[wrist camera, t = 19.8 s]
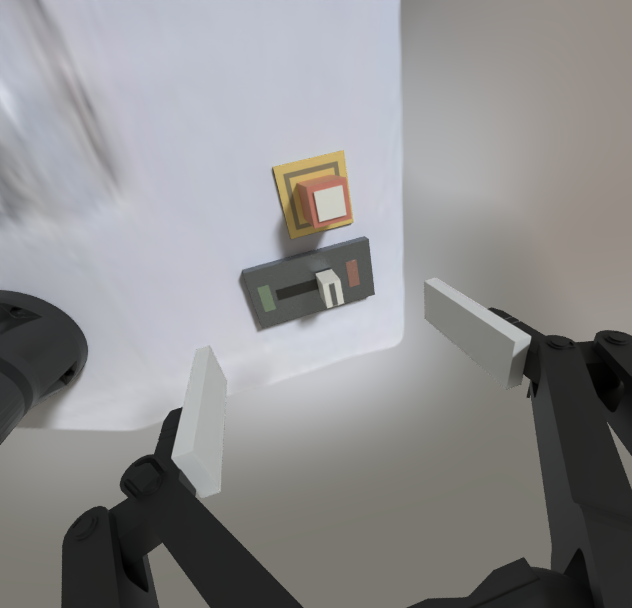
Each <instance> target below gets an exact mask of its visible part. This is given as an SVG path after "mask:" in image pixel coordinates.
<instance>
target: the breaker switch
mask: <svg viewBox="0 0 632 608" xmlns="http://www.w3.org/2000/svg"><path fill="white" fill-rule="evenodd" d="M316 279H317V283H318V288H319V293H320V296H321V298H322V300H323V302H324V303H325V305H326V307H327V308H330V307H333V306H337V305H340V304H343V303H344V299H343V293H342V288H341V282H340V279H339V278H338V276H337V275H336V274H335V273H334V271H333V270H332V269H330V270H327V271H323V272H320V273H316Z"/></svg>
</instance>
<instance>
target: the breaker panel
mask: <svg viewBox="0 0 632 608" xmlns="http://www.w3.org/2000/svg"><path fill="white" fill-rule="evenodd" d="M330 269H332V270H333V271H334V273H335V274H336V275H337V276H338V278H339V279H340V282H341V288H342V293H343V299H344V303H343V304H345V303H348V302H352V301H355V300H358V299H362V298H365V297H368V296H372V295H375V292H374V283H373V274H372V265H371V256H370V247H369V239H368V238H366V237H365V236H364V237H360V238H357V239H353V240H350V241H346V242H342V243H339V244H335V245H331V246H328V247H324V248H320V249H317V250H313V251H310V252H306V253H302V254H299V255H295V256H291V257H288V258H284V259H280V260H277V261H273V262H269V263H266V264H262V265H259V266H255V267H251V268H248V269H244V270H243V276H244V279H245V282H246V284H247V287H248V290H249V293H250V296H251V298H252V301H253V304H254V307H255V310H256V312H257V315H258V318H259V321H260V324H261V326H262V328H265V327H268V326H271V325H275V324H278V323H281V322H285V321H288V320H291V319H295V318H298V317H301V316H305V315H308V314H311V313H315V312H318V311H322V310H325V309H328V308H327V307H326V305H325V303H324V302H323V300H322V298H321V296H320V293H319V288H318V283H317V279H316V273H320V272H323V271H327V270H330ZM340 305H342V304H340ZM337 306H338V305H337ZM333 307H335V306H333ZM330 308H332V307H330Z"/></svg>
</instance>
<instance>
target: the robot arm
mask: <svg viewBox="0 0 632 608" xmlns="http://www.w3.org/2000/svg"><path fill="white" fill-rule="evenodd" d="M424 295H425V296H424V299H425V319H426V320H427V321H428V322H429V323H431V324H432V325H433V326H434V327H435V328H436V329H437V330H439V331H440V332H441V333H442V334H443V335H444V336H446V337H447V338H448V339H449V340H450V341H451V342H452V343H453V344H455V345H456V346H457V347H458V348H459V349H461V350H462V351H463V352H464V353H465V354H466V355H467V356H469V357H470V358H471V359H472V360H473V361H474V362H475V363H476V364H478V365H479V366H480V367H481V368H482V369H483V370H485V371H486V372H487V373H488V374H489V375H490V376H491V377H492V378H494V379H495V380H496V381H497V382H498V383H499V384H500V385H502V386H503V387H504V388H505V389H509V388H512V387H515V386H518V385H521V382H522V378H523V374H524V375H525V376H526V377H528V378H529V379H530V385H529V389H528V393H527V398H530V395H531V401H532V408H533V415H534V422H535V429H536V436H537V443H538V450H539V457H540V464H541V471H542V478H543V485H544V492H545V500H546V506H547V514H548V521H549V528H550V535H551V542H552V553H551V570H549V569H544V568H539V567H530V565H529V564H528V563H527V561H526V560H525V558H521V559H519V560H516V561H514V562H512V563H509V564H507V565H505V566H502V567H500V568H498V569H496V570H493V571H492V573H491V574H490V575H489V576H488V577H487V578H486V579H485V580H484V581H483V582H482V583H481V584H480V585H479V586H478V587H477V588H476V589H475V590H474V591H473V592H472V593H471V595H469V596H468V597H463V598H436V599H435V598H434V599H426V600H424V601H421V602H419V603H417V604H414V605H412V606H410V607H407V608H632V489H631V487H630V484H629V481H628V478H627V476H626V473H625V470H624V468H623V465H622V462H621V459H620V456H619V454H618V451H617V448H616V446H615V443H614V440H613V437H612V435H611V432H610V429H609V426H608V424H609V425H610V426H611V428H612V429H613V430H614V432H615V433H616V435H617V436H618V438H619V439H620V440H621V442H622V443H623V445H624V446H625V447H626V449H627V450H628V451H629V453H630V454H631V456H632V336H631V335H629V334H626V333H623V332H619V331H611V330H605V331H600V332H598V333H596V336H595V339H594V341H588V342H574V341H573V340H571V339H569V338H566V337H563V336H557V335H548V336H545V335H543V334H541V333H540V332H538V331H536V330H535V329H533V328H531V327H530V326H528V325H526V324H524V323H523V322H521V321H520V322H519V320H518V319H516V318H514V317H512V316H511V315H509V314H507V313H506V312H504V311H501V310H498V309H495V308H489V309H486V308H484V307H483V306H481V305H479V304H478V303H476V302H474V301H473V300H471V299H470V298H468V297H467V296H465V295H463V294H462V293H460V292H458V291H457V290H455V289H453V288H452V287H450V286H449V285H447V284H445V283H444V282H442V281H440V280H439V279H437V278H433V279H429V280H426V281H424ZM87 354H88V347H87V342H86V339H85V336H84V334H83V332H82V331H81V329H80V328H79V326H78V325H77V324H76V323H75V322H74V320H73V319H71V318H70V317H69V316H68V315H67V314H66V313H64V312H63V311H62V310H60V309H59V308H57V307H56V306H54V305H52V304H50V303H48V302H46V301H44V300H42V299H39V298H37V297H34V296H31V295H27V294H23V293H19V292H13V291H5V290H0V445H1V443H2V442H3V441H4V440H5V439H6V437H7V436H8V435H9V434H10V432H11V431H12V430H13V429H14V427H15V426H16V425H17V424H18V422H19V421H20V420H21V419H22V417H23V416H24V415H25V414H26V413H27V412H28V410H30V409H31V408H33V407H34V406H36V405H38V404H39V403H41V402H42V401H44V400H46V399H47V398H49V397H50V396H52V395H54V394H55V393H57V392H58V391H60V390H62V389H63V388H65V387H66V386H67V385H68V384H69V383H70V382H71V381H73V379H74V378H75V377H76V376H77V374H78V373H79V372H80V370H81V369H82V368H83V366H84V364H85V362H86V359H87ZM226 389H227V380H226V378H225V376H224V374H223V372H222V370H221V367H220V365H219V363H218V361H217V359H216V357H215V355H214V353H213V351H212V349H211V347H210V345H209V346H206V347H203V348H199V349H196V352H195V356H194V361H193V365H192V369H191V374H190V378H189V382H188V387H187V391H186V395H185V400H184V404H183V407H181V408H178V409H175V410H172V411H170V413H169V414H168V416H167V417H166V419H165V420H164V422H163V425H162V429H161V433H160V436H159V439H158V440H159V442H158V443H157V446H156V450H155V453H154V454H152V455H146V456H144V457H141V458H139V459H138V460H136V461H135V462H134V463H132V464H131V465H130V467H129V468H128V469H127V470H126V471H125V473H124V474H123V476H122V478H121V481H120V488H121V491H122V492H123V493H124V494H125V495H127V497H128V498H127V499H126V500H124V501H123V502H121V503H119V504H118V505H116V506H115V507H113V508H112V509H110V510H108V509H107V508H106V507H102V506H98V507H93V508H92V509H90V510H88V511H86V512H85V513H83V514H82V515H81V516H80V517H79V518H77V520H76V521H75V522H74V523H73V524H72V525H71V527H70V528H69V529H68V531H67V533H66V535H65V537H64V540H63V545H62V605H61V606H62V607H61V608H159V605H158V600H157V596H156V591H155V587H154V582H153V578H152V573H151V569H150V564H149V560H148V555H147V553H149V552H150V551H151V550H153V549H154V548H155V547H157V546H158V545H160V544H161V543H162V542H163V544H164V545H165V546H166V548H167V549H168V550H169V552H170V553H171V554H172V556H173V557H174V559H175V560H176V561H177V563H178V564H179V566H180V567H181V568H182V569H183V571H184V572H185V574H186V575H187V576H188V578H189V579H190V580H191V582H192V583H193V585H194V586H195V587H196V589H197V590H198V591H199V593H200V594H201V596H202V597H203V598H204V600H205V601H206V602H207V604H208V605H209V607H210V608H303V607H302V606H301V605H300V604H299V603H298V602H297V600H295V599H294V597H293V596H292V595H290V593H289V592H288V591H287V590H286V589H285V588H284V587H283V586H282V585H281V584H280V583H279V582H278V581H277V580H276V579H275V578H274V577H273V576H272V575H271V574H270V573H269V572H268V571H267V570H266V569H265V568H264V567H263V566H262V565H261V564H260V563H259V562H258V561H257V560H256V559H255V558H254V556H252V554H250V552H249V551H247V549H246V548H245V547H244V546H243V545H242V544H241V543H240V542H239V541H238V540H237V539H236V538H235V537H234V536H233V535H232V534H231V533H230V532H229V531H228V530H227V529H226V528H225V527H224V526H223V525H222V524H221V523H220V522H219V521H218V520H217V519H216V518H215V517H214V516H213V515H212V514H211V513H210V512H209V510H208V509H207V508H206V507H204V505H203V504H202V503H201V502H200V501H199V500H198V499H197V498H196V497H195V495H196V492H197V493H198V494H199V496H200V497H201V498H204V497H207V496H210V495H213V494H215V493H218V492H220V490H221V473H222V455H223V440H224V422H225V406H226ZM607 422H608V424H607Z"/></svg>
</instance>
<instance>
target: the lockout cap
mask: <svg viewBox="0 0 632 608" xmlns="http://www.w3.org/2000/svg"><path fill="white" fill-rule="evenodd" d="M297 187H298V191H299V196H300V200H301V205H302V210H303V214H304V219H305V220H306V221H307V222H308V223H309V224H310V225H312V226H313V227H314V228H319V227H323V226H326V225H330V224H334V223H338V222H341V221H345V220H349V219H352V217H351V209H350V202H349V195H348V187H347V180H346V177H342V176H337V175H327V176H322V177H318V178H314V179H310V180H306V181H302V182H298V183H297Z"/></svg>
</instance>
